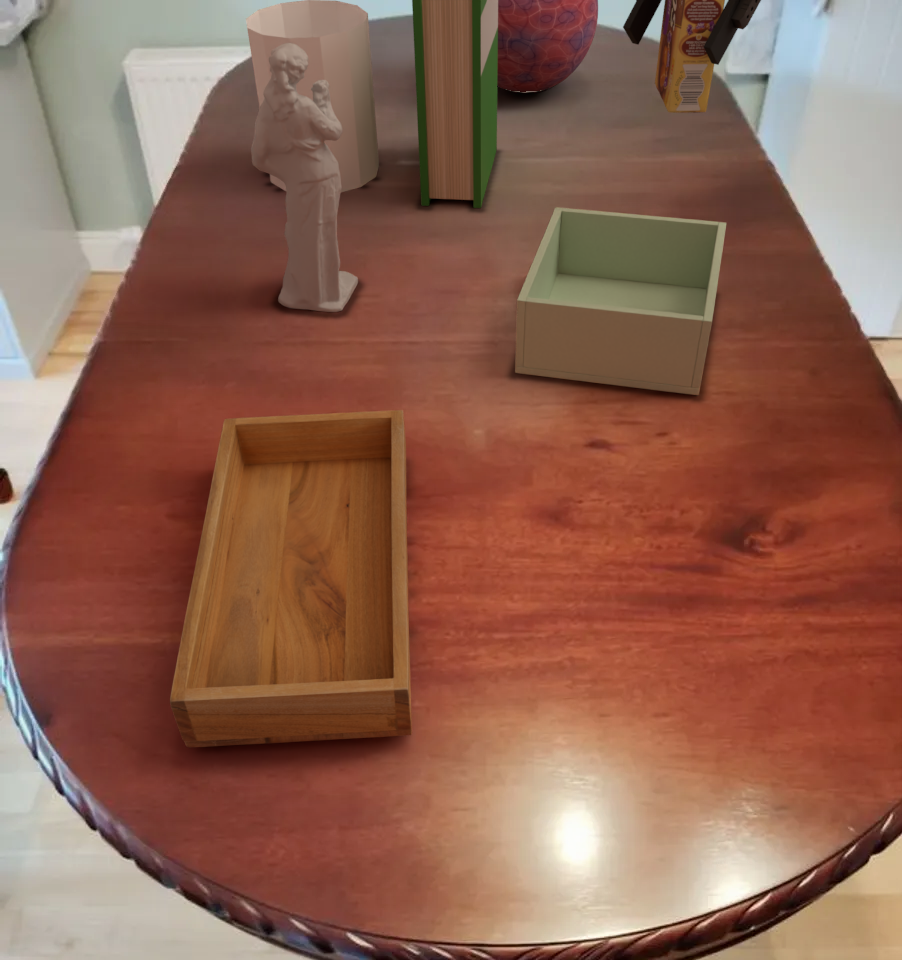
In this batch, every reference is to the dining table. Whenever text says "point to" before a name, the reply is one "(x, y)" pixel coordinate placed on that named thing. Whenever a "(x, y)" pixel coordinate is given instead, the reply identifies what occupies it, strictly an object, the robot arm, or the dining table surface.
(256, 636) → the tray
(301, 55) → the figurine
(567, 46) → the decorative sphere
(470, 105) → the hardback book
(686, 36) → the candy box
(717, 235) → the bin
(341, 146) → the container
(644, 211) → the dining table surface
